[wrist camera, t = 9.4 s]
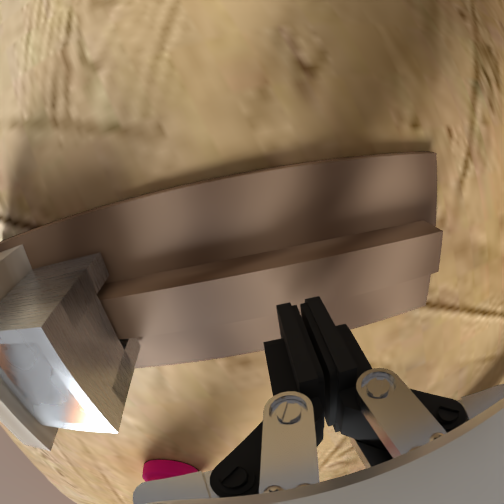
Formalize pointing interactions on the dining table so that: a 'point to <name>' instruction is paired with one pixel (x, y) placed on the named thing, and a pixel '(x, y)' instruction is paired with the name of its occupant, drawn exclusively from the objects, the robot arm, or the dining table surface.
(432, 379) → the dining table surface
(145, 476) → the pepper mill
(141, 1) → the dining table surface
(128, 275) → the rail
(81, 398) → the block
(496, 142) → the dining table surface
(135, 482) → the dining table surface
